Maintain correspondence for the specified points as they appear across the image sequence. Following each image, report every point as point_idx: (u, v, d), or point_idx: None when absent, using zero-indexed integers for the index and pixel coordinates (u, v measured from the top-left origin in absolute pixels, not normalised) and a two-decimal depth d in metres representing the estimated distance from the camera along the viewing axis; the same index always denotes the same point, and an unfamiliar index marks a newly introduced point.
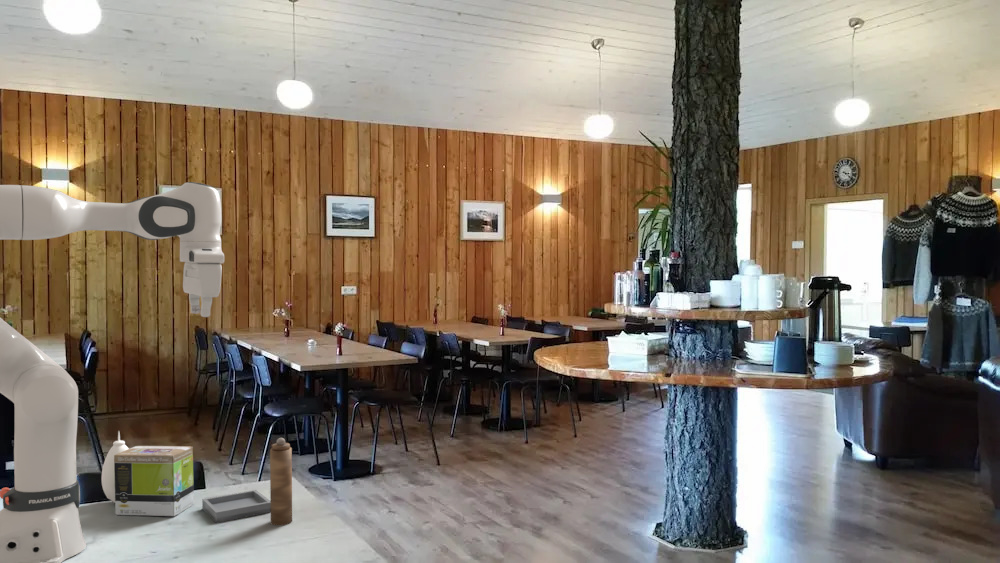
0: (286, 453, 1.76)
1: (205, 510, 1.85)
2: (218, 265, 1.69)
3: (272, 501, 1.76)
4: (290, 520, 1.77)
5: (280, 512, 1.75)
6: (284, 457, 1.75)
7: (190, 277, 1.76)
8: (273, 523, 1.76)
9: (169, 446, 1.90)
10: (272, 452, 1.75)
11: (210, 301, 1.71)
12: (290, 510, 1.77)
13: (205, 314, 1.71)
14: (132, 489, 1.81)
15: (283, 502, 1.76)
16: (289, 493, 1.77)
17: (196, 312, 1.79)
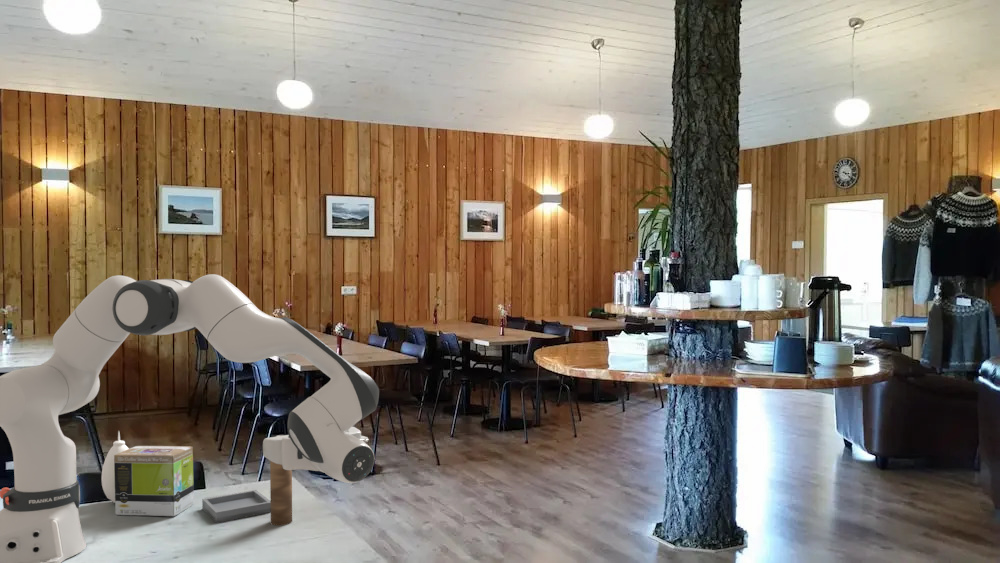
0: None
1: (205, 510, 1.85)
2: (280, 461, 1.53)
3: (272, 501, 1.76)
4: (290, 520, 1.77)
5: (280, 512, 1.75)
6: None
7: None
8: (273, 523, 1.76)
9: (169, 446, 1.90)
10: None
11: None
12: (290, 510, 1.77)
13: None
14: (132, 489, 1.81)
15: (283, 502, 1.76)
16: (289, 493, 1.77)
17: None
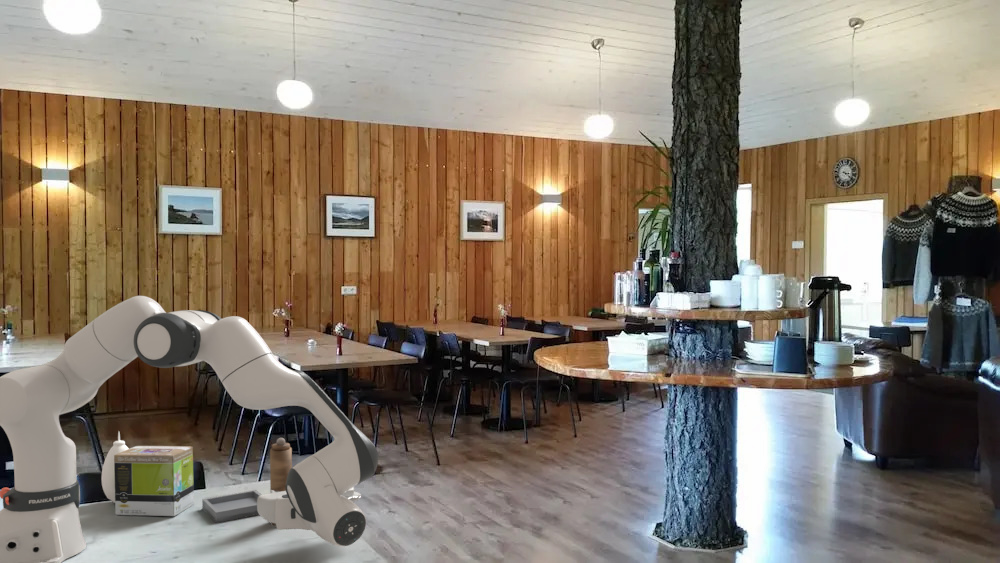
0: (286, 453, 1.76)
1: (205, 510, 1.85)
2: (273, 520, 1.56)
3: None
4: None
5: None
6: (284, 457, 1.75)
7: None
8: (273, 523, 1.76)
9: (169, 446, 1.90)
10: (272, 452, 1.75)
11: None
12: None
13: None
14: (132, 489, 1.81)
15: None
16: None
17: None
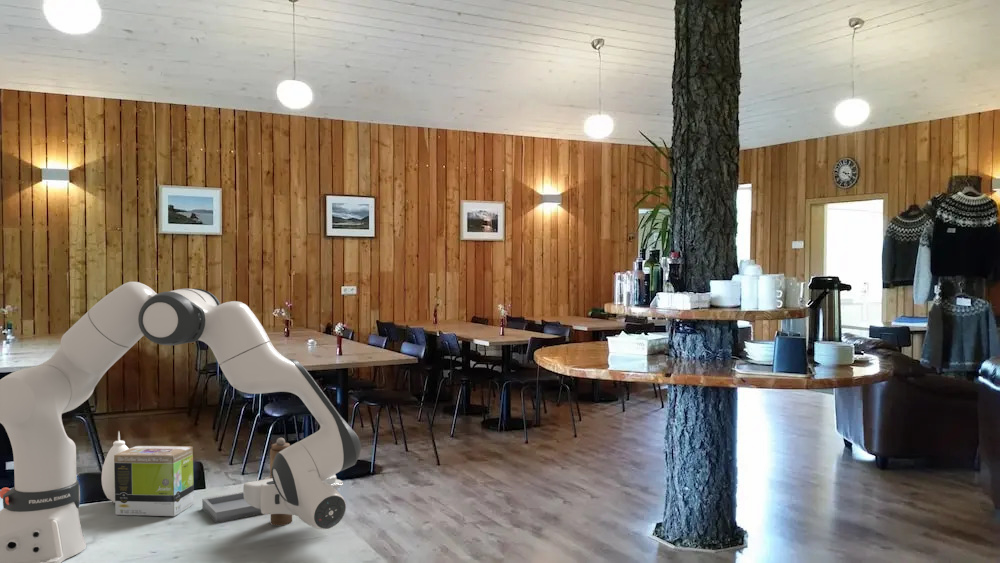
0: None
1: (205, 510, 1.85)
2: (259, 505, 1.64)
3: None
4: (290, 520, 1.77)
5: None
6: None
7: None
8: (273, 523, 1.76)
9: (169, 446, 1.90)
10: (272, 452, 1.75)
11: None
12: None
13: None
14: (132, 489, 1.81)
15: None
16: None
17: None
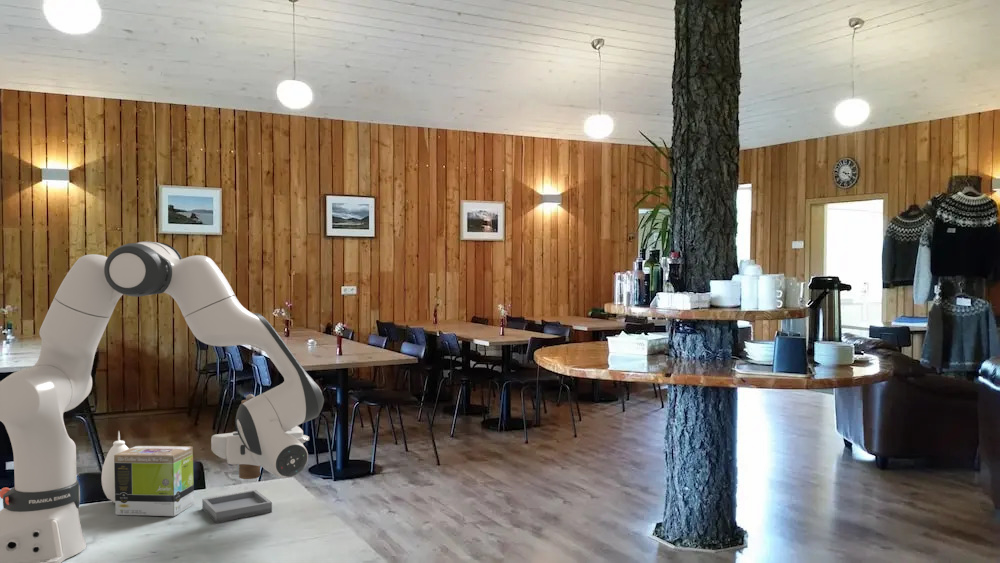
0: None
1: (205, 510, 1.85)
2: (225, 456, 1.69)
3: None
4: (258, 474, 1.82)
5: (248, 466, 1.80)
6: None
7: None
8: (241, 477, 1.80)
9: (169, 446, 1.90)
10: None
11: None
12: None
13: None
14: (132, 489, 1.81)
15: None
16: None
17: None
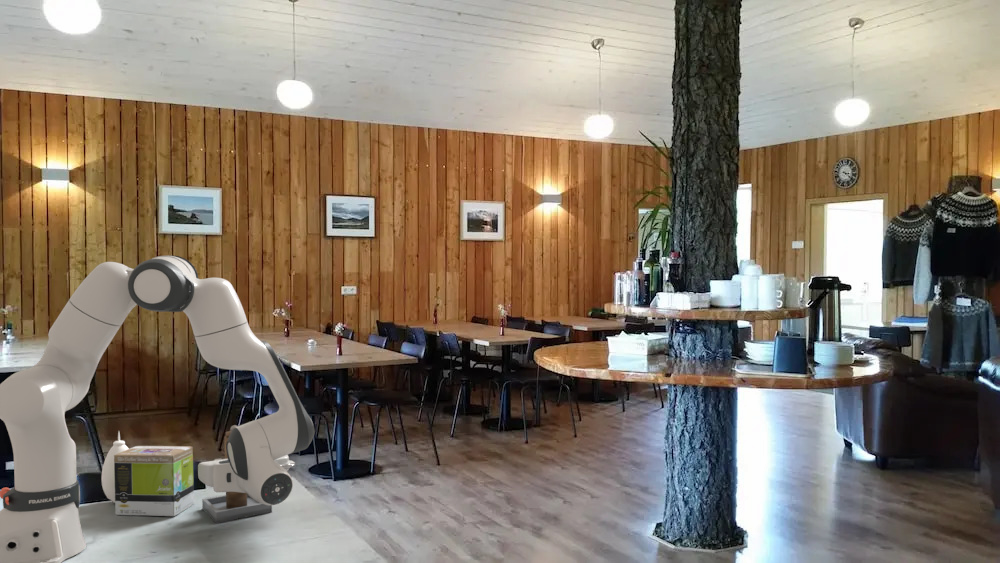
0: None
1: (205, 510, 1.85)
2: (211, 484, 1.72)
3: None
4: (245, 504, 1.85)
5: (234, 497, 1.83)
6: None
7: None
8: (228, 507, 1.84)
9: (169, 446, 1.90)
10: (226, 439, 1.84)
11: None
12: (245, 494, 1.85)
13: None
14: (132, 489, 1.81)
15: None
16: None
17: None
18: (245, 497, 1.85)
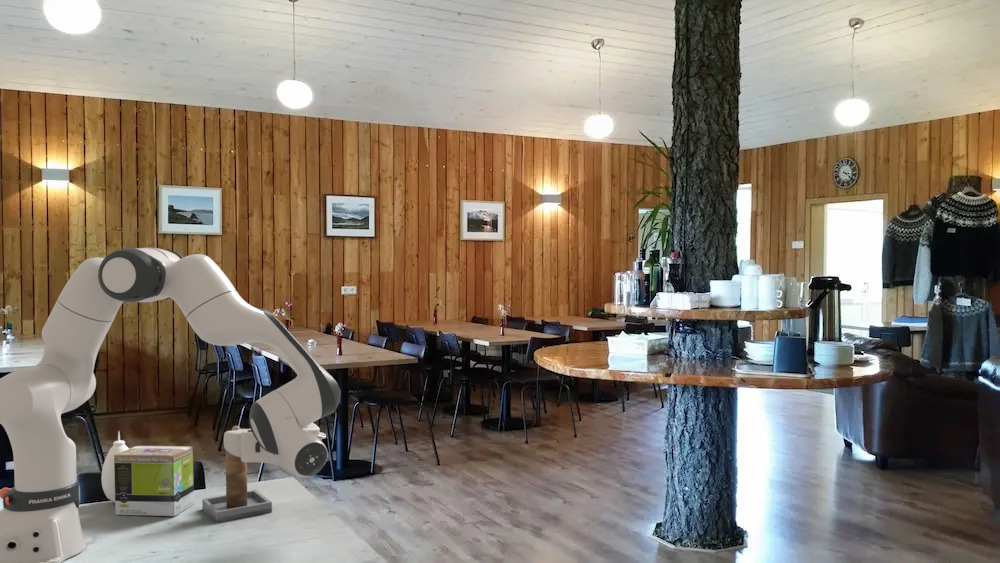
0: None
1: (205, 510, 1.85)
2: (239, 453, 1.60)
3: (227, 486, 1.84)
4: (245, 505, 1.85)
5: (235, 497, 1.83)
6: None
7: None
8: (228, 507, 1.84)
9: (169, 446, 1.90)
10: None
11: None
12: (245, 495, 1.85)
13: None
14: (132, 489, 1.81)
15: (238, 487, 1.84)
16: (244, 479, 1.85)
17: None
18: (245, 498, 1.85)
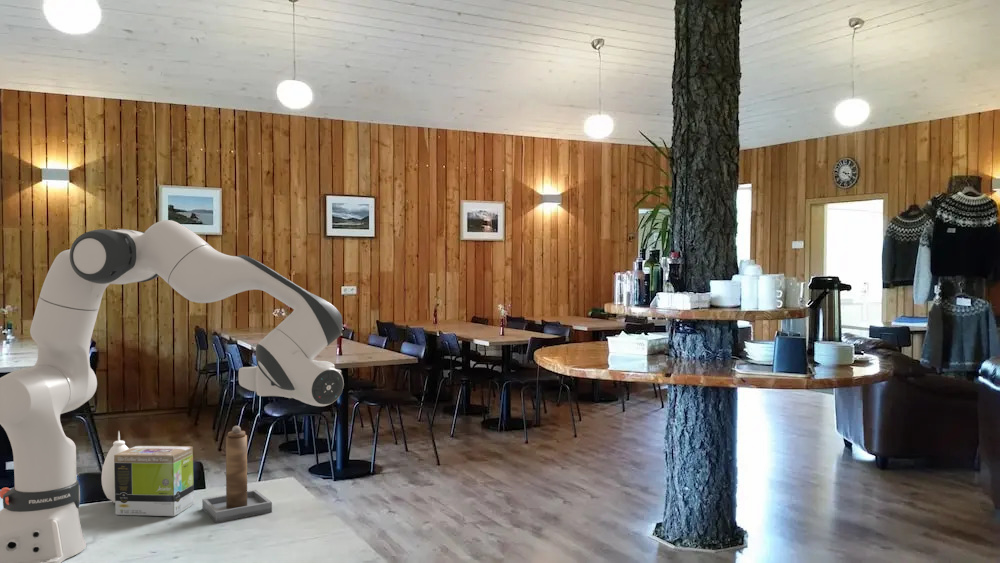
0: (241, 441, 1.84)
1: (205, 510, 1.85)
2: (254, 388, 1.59)
3: (227, 486, 1.84)
4: (245, 505, 1.85)
5: (235, 497, 1.83)
6: (238, 444, 1.83)
7: None
8: (228, 507, 1.84)
9: (169, 446, 1.90)
10: (227, 439, 1.83)
11: None
12: (245, 495, 1.85)
13: None
14: (132, 489, 1.81)
15: (238, 487, 1.83)
16: (244, 479, 1.85)
17: None
18: (245, 498, 1.85)
